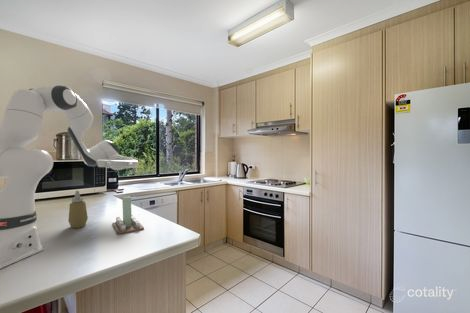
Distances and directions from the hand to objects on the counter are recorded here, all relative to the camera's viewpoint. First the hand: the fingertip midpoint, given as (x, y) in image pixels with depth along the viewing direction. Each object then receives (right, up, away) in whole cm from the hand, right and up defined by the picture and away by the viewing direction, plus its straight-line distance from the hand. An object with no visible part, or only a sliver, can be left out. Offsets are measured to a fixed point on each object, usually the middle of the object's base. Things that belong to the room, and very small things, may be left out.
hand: (120, 164), depth 117 cm
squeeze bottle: (-18, -31, -6) cm, 36 cm away
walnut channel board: (+8, -30, -8) cm, 33 cm away
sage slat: (+8, -29, -8) cm, 32 cm away
